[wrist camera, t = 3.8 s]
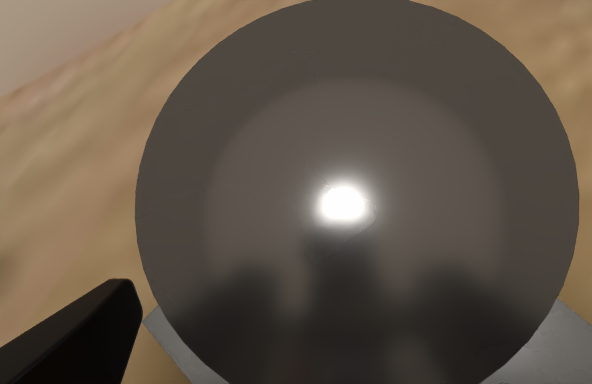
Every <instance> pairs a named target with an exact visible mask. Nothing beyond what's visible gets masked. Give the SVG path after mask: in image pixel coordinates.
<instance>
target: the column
mask: <svg viewBox="0 0 592 384" xmlns="http://www.w3.org/2000/svg"><path fill="white" fill-rule="evenodd" d="M135 223H136V233H137V243H138V248H139V252H140V256H141V260H142V265H143V269H144V272H145V274H146V277H147V280H148V282H149V285H150V288H151V290H152V293H153V295H154V297H155V299H156V301H157V303H158V305H159V306H160V308H161V310H162V312H163V314H164V316H165V318H166V319H167V321H168V322H169V323H170V325H171V326H172V328H173V329H174V330H175V332H176V333H177V334H178V336H179V337H180V338H181V340H182V341H183V343H184V344H185V345H186V346H187V347H188V348H189V349H190V350H191V351H192V352H193V353H194V354H195V355H196V356H197V357H198V358H199V359H200V360H201V361H202V362H203V363H204V364H205V365H206V366H208V367H209V368H210V369H212V370H213V371H214V372H215V373H217V374H218V375H219V376H221V377H222V378H223V379H224V380H226V381H227V382H228V383H230V384H480V383H481V382H483V381H484V380H485V379H487V378H488V377H489V376H491V375H492V374H493V373H495V372H496V371H497V370H499V369H500V368H501V367H503V366H504V365H505V364H506V363H507V362H508V361H509V360H510V359H511V358H512V357H513V356H514V355H515V354H516V353H517V352H518V351H519V350H520V349H521V348H522V347H523V346H524V345H525V344H526V343H527V342H528V341H529V340H530V339H531V337H532V336H533V335H534V333H535V332H536V330H537V329H538V328H539V326H540V325H541V324H542V322H543V321H544V319H545V318H546V317H547V315H548V314H549V312H550V310H551V308H552V306H553V304H554V302H555V300H556V298H557V296H558V295H559V293H560V291H561V289H562V287H563V285H564V282H565V279H566V276H567V273H568V270H569V267H570V264H571V261H572V258H573V254H574V249H575V243H576V237H577V231H578V225H579V188H578V180H577V173H576V165H575V161H574V158H573V154H572V150H571V147H570V143H569V140H568V136H567V134H566V132H565V129H564V127H563V125H562V123H561V120H560V118H559V116H558V114H557V112H556V109H555V108H554V106H553V105H552V103H551V101H550V100H549V98H548V97H547V95H546V93H545V92H544V90H543V89H542V87H541V85H540V84H539V83H538V82H537V81H536V79H535V78H534V77H533V76H532V74H531V73H530V72H529V71H528V70H527V68H526V67H525V66H524V65H523V64H522V63H521V62H520V61H519V60H518V59H517V58H516V57H515V56H514V55H513V54H511V53H510V52H509V51H508V50H507V49H506V48H505V47H504V46H503V45H502V44H500V43H499V42H497V41H496V40H495V39H493V38H492V37H490V36H489V35H488V34H486V33H485V32H483V31H482V30H481V29H479V28H477V27H475V26H473V25H471V24H470V23H468V22H466V21H464V20H462V19H460V18H459V17H457V16H454V15H452V14H449V13H447V12H444V11H442V10H439V9H437V8H434V7H431V6H427V5H424V4H420V3H416V2H412V1H409V0H312V1H306V2H303V3H299V4H296V5H293V6H289V7H286V8H282V9H280V10H278V11H275V12H273V13H270V14H268V15H265V16H263V17H261V18H259V19H257V20H255V21H253V22H251V23H249V24H248V25H246V26H244V27H242V28H240V29H238V30H237V31H235V32H234V33H233V34H231V35H230V36H228V37H227V38H225V39H224V40H222V41H221V42H220V43H218V44H217V45H216V46H215V47H214V48H212V49H211V50H210V51H209V52H208V53H207V54H206V55H204V56H203V57H202V58H201V59H200V60H199V61H198V62H197V63H196V64H195V65H194V66H193V67H192V68H191V70H190V71H189V72H188V73H187V74H186V75H185V76H184V77H183V78H182V80H181V81H180V82H179V84H178V85H177V87H176V88H175V89H174V91H173V92H172V93H171V95H170V96H169V97H168V99H167V101H166V103H165V105H164V106H163V108H162V110H161V112H160V113H159V115H158V117H157V119H156V121H155V123H154V126H153V128H152V130H151V133H150V135H149V137H148V140H147V142H146V146H145V149H144V153H143V156H142V160H141V163H140V167H139V174H138V180H137V186H136V198H135Z"/></svg>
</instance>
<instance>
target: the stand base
mask: <svg viewBox="0 0 592 384" xmlns="http://www.w3.org/2000/svg"><path fill="white" fill-rule="evenodd" d="M142 323H143V324H144V326H145V327H146V328H147V329H148V330H149V332H150V333H151V334H152V335H153V336H154V338H155V339H156V340H157V341H158V343H159V344H160V345H161V346H162V347H163V349H164V350H165V351H166V352H167V354H168V355H169V356H170V357H171V358H172V360H173V361H174V362H175V363H176V365H177V366H178V367H179V368H180V369H181V371H182V372H183V373H184V374H185V375H186V377H187V378H188V379H189V380H190V382H191V383H192V384H230V383H228V382H227V381H226V380H224V379H223V378H222V377H221V376H219V375H218V374H217V373H215V372H214V371H213V370H212V369H210V368H209V367H208V366H206V365H205V364H204V363H203V362H202V361H201V360H200V359H199V358H198V357H197V356H196V355H195V354H194V353H193V352H192V351H191V350H190V349H189V348H188V347H187V346H186V345H185V344H184V343H183V341H182V340H181V338H180V337H179V336H178V334H177V333H176V332H175V330H174V329H173V328H172V326H171V325H170V323H169V322H168V321H167V319H166V318H165V316H164V314H163V312H162V310H161V308H160V306H159V305H158V306H157V307H156V308H155V309H154V310H153V311H152V312H151V313H150V314H149V315H148V316H147V317H146V318H145V319H144V320H143V321H142ZM480 384H592V326H591V325H590V324H589V323H588V322H586V321H585V320H584V319H583V318H581V317H580V316H579V315H578V314H576V313H575V312H574V311H573V310H571V309H570V308H569V307H568V306H566V305H565V304H564V303H563V302H561V301H560V300H559V299H558V298H556V300H555V302H554V304H553V306H552V308H551V310H550V312H549V314H548V315H547V317H546V318H545V319H544V321H543V322H542V324H541V325H540V326H539V328H538V329H537V330H536V332H535V333H534V335H533V336H532V337H531V339H530V340H529V341H528V342H527V343H526V344H525V345H524V346H523V347H522V348H521V349H520V350H519V351H518V352H517V353H516V354H515V355H514V356H513V357H512V358H511V359H510V360H509V361H508V362H507V363H506V364H505V365H504V366H503V367H501V368H500V369H499V370H497V371H496V372H495V373H493V374H492V375H491V376H489V377H488V378H487V379H485V380H484V381H483V382H481V383H480Z"/></svg>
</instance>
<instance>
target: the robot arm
mask: <svg viewBox="0 0 592 384" xmlns="http://www.w3.org/2000/svg"><path fill="white" fill-rule="evenodd" d="M142 317H143V310H142V306H141V303H140V300H139V297H138V295H137V292H136V289H135V286H134V284H133V282H132V281H131V280H130V279H116V278H114V279H109V280H107V281H106V282H104V283H102V284H101V285H99V286H98V287H96V288H94V289H93V290H91V291H90V292H88V293H87V294H85V295H83V296H82V297H80V298H79V299H77V300H75V301H74V302H72V303H71V304H69V305H67V306H66V307H64V308H63V309H61V310H59V311H58V312H56V313H55V314H53V315H51V316H50V317H48V318H47V319H45V320H44V321H42V322H40V323H39V324H37V325H36V326H34V327H32V328H31V329H29V330H28V331H26V332H24V333H23V334H21V335H20V336H18V337H16V338H15V339H13V340H12V341H10V342H9V343H7V344H5V345H4V346H2V347H1V348H0V384H121V381H122V379H123V376H124V373H125V370H126V367H127V364H128V361H129V358H130V354H131V351H132V348H133V345H134V342H135V339H136V336H137V333H138V330H139V327H140V324H141V321H142Z"/></svg>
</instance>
